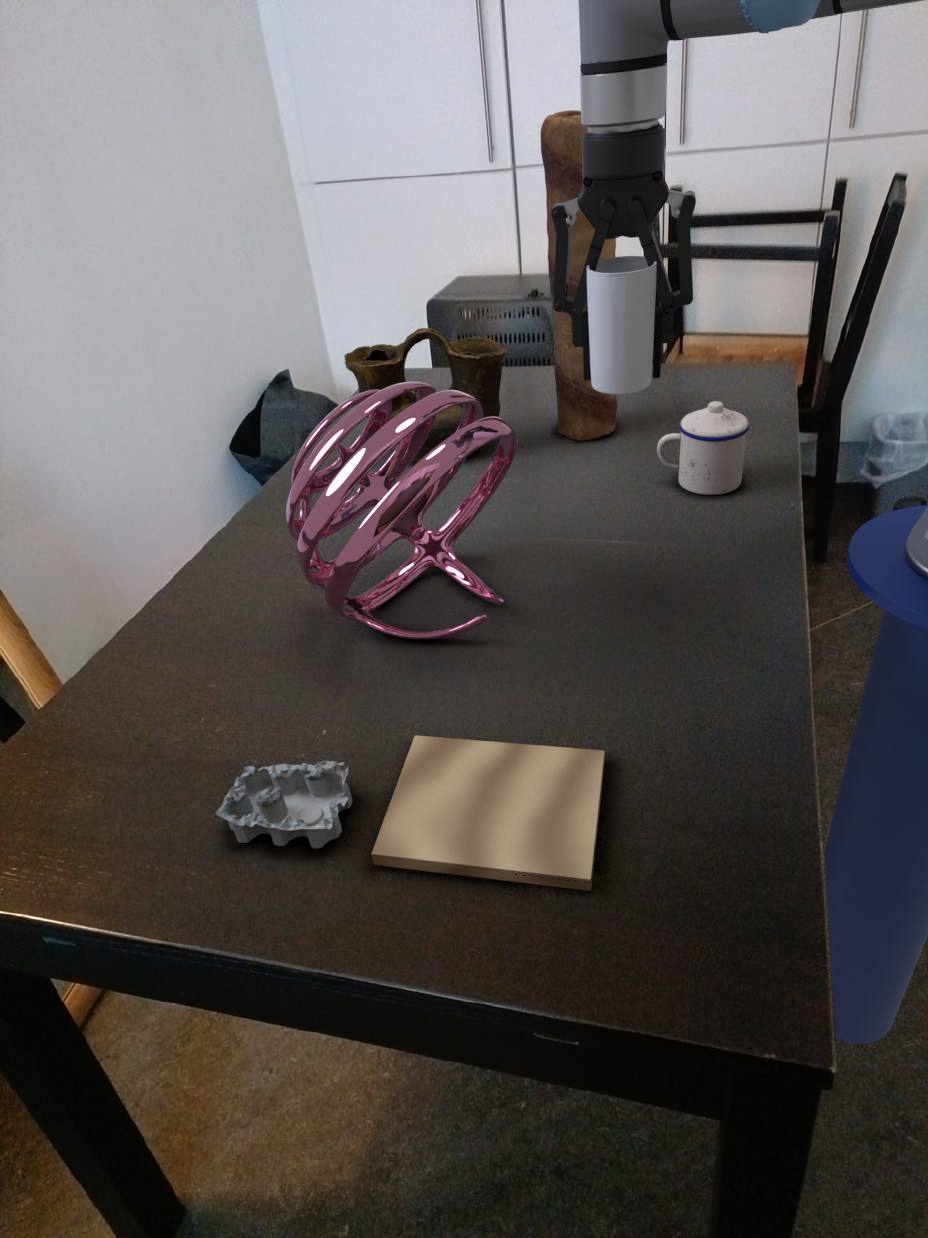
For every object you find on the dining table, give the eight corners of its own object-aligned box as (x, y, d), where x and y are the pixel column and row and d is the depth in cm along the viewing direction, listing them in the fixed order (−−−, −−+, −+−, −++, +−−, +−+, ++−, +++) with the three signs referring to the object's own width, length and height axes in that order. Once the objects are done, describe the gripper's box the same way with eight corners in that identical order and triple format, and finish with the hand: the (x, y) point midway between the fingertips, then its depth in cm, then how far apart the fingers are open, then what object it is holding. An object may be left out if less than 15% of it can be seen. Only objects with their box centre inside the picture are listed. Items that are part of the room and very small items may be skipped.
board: (604, 762, 75) (604, 750, 74) (591, 891, 64) (591, 879, 63) (416, 746, 79) (414, 735, 79) (373, 865, 68) (370, 854, 68)
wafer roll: (551, 418, 140) (538, 112, 114) (613, 413, 140) (615, 103, 113) (553, 444, 132) (541, 119, 106) (620, 438, 131) (624, 109, 105)
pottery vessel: (358, 473, 131) (334, 348, 119) (366, 444, 139) (344, 326, 128) (515, 460, 129) (506, 332, 117) (513, 432, 137) (505, 310, 126)
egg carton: (361, 791, 75) (353, 760, 73) (333, 858, 70) (323, 826, 67) (255, 779, 78) (245, 748, 76) (219, 842, 72) (206, 811, 70)
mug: (651, 395, 83) (653, 271, 76) (584, 396, 85) (581, 275, 78) (658, 361, 91) (661, 246, 84) (597, 363, 93) (595, 249, 86)
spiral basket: (628, 458, 81) (433, 281, 84) (432, 642, 71) (219, 434, 74) (552, 569, 107) (405, 430, 110) (400, 715, 97) (244, 558, 100)
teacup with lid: (740, 467, 119) (748, 389, 112) (745, 497, 112) (754, 415, 105) (655, 467, 122) (658, 391, 115) (655, 497, 115) (658, 417, 108)
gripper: (733, 109, 75) (715, 359, 89) (523, 131, 80) (537, 365, 93) (737, 119, 69) (718, 384, 83) (510, 141, 74) (527, 389, 87)
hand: (622, 374), depth 88 cm, fingers closed on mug, 6 cm apart
